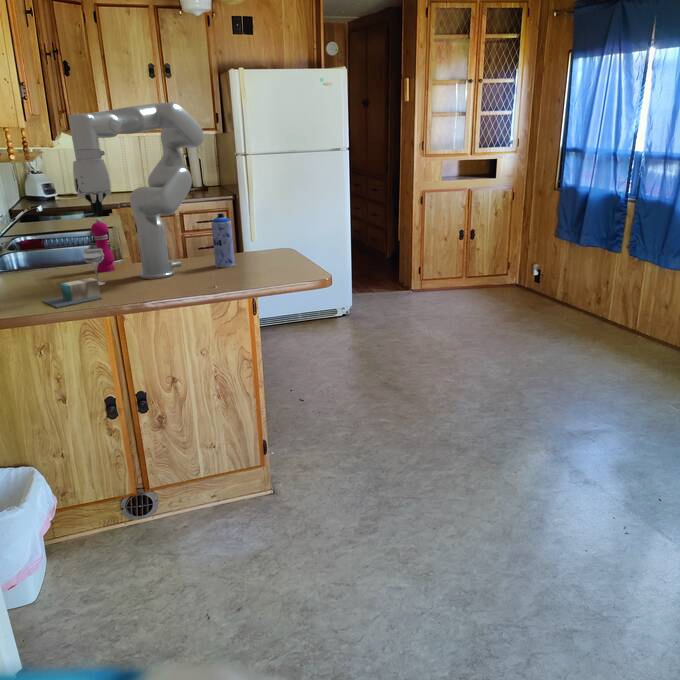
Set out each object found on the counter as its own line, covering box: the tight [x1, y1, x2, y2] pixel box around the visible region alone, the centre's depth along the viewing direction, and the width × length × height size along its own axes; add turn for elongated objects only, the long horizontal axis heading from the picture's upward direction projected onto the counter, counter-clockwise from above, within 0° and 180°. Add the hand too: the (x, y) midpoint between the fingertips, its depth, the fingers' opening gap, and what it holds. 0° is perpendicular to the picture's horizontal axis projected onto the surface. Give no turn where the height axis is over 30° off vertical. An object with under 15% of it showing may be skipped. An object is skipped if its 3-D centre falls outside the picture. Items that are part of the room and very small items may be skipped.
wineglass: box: [82, 247, 106, 286], centre depth 211 cm, size 7×7×12 cm
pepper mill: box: [90, 217, 115, 273], centre depth 232 cm, size 7×7×20 cm
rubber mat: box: [42, 295, 103, 309], centre depth 192 cm, size 14×12×1 cm
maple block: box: [59, 277, 101, 302], centre depth 193 cm, size 5×5×10 cm
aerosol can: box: [211, 213, 236, 268], centre depth 233 cm, size 8×8×20 cm
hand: (98, 214), depth 196 cm, fingers closed
